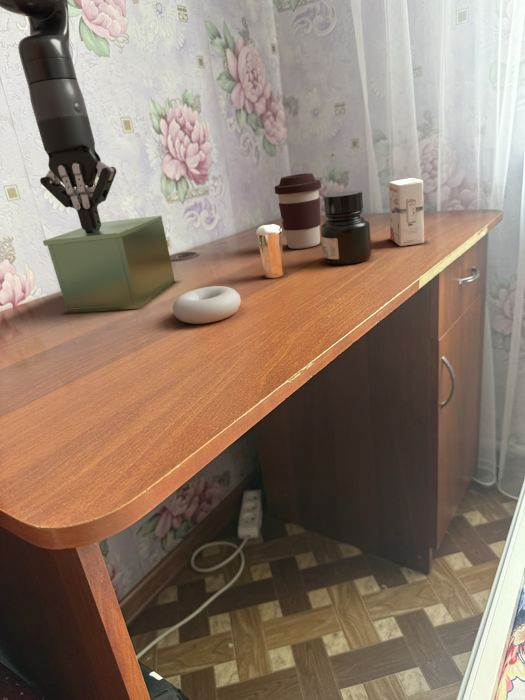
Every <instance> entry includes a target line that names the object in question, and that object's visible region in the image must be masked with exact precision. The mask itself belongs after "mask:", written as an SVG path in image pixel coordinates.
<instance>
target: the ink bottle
mask: <svg viewBox="0 0 525 700" xmlns="http://www.w3.org/2000/svg"><path fill="white" fill-rule="evenodd" d="M363 201H364V200H363V191H362V190H346V191H338V192H332V193H327V194H324V195H323V205H324V213H325V215H324V216H325V217H326V218H327V219H326V220H325V221H324V223H323V224H322V225H321V227H320V238H321V246H322V247H321V248H322V258H323V261H324V263H326V264H328V265H335V266H336V265H337V266H339V265H351V264H357V263H362V262H365V261H367V260H369V259H370V258H371V257H372V246H371V245H372V243H371V242H372V241H371V224H370V222H369V220H368V219H367V218H365V217H364V216H363V215H362V214H363V212H364V202H363Z"/></svg>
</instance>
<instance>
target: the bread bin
mask: <svg viewBox="0 0 525 700" xmlns="http://www.w3.org/2000/svg"><path fill="white" fill-rule="evenodd" d="M164 226H165V225H164V221H163V219H162V220H160V221H158V222H156V223H153V224H151V225H148V226H146V227H144V228H141V229H139V230H137V231H134V232H132V233H129V234H127V235H125V236H122V237H120V238H114V239H104V240H95V241H85V242H76V243H66V244H57V245H47V249H48V251H49V255H50V259H51V262H52V265H53V269H54V272H55V274H56V275H55V276H56V278H57V283H58V286H59V288H60V292H61V296H62V298H63V301H64V305H65V308H66V312H67V314H77V313H90V312H91V313H92V312H107V311H121V310H122V311H127V310H139V309H141V308H142V307H143V306H144V305H146V304H147V303H149V302H150V301H152V300H153V299H154V298H156V297H157V296H158V295H160V294H161V293H163V292H164V291H166V290H167V289H168V288H170V287H171V286H173V285H174V284H175V283H176V280H175V279H176V278H175V274H174V270H173V265H172V260H171V255H170V250H169V246H168V241H167V236H166V232H165V227H164Z"/></svg>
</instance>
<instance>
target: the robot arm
mask: <svg viewBox="0 0 525 700" xmlns="http://www.w3.org/2000/svg"><path fill="white" fill-rule="evenodd" d="M0 8H1V9H4V10H6V11H8V12H10V13H12V14H15V15H19V16H24V17H27V19H28V24H29V35H27V36H25V37H23V38H21V40H19V43H18V47H17V49H18V55H19V59H20V63H21V67H22V70H23V74H24V76H25V80H26V84H27V88H28V92H29V99H30V103H31V107H32V112H33V115H34V118H35V121H36V126H37V130H38V132H39V135H40V139H41V143H42V146H43V150H44V151H45V153H46V155H47V156H48V164H47V166H48V168H49V171H47V173H46V175H45V176H42V177H40V179H39V182H40V184H41V185H42V186H43V187H44V188H45V189H46V190H47V191H48V192H49V193H50V194H51V195H52V196H53V197H54V198H55V199H56V200H57V201H58V202H59V203H60V204H61V205H62V206H63V207H65V208H71V209H74V210H75V211H76V213H77V216H78V219H79V223H80V226H81V227H80V228H83V230H85V232H86V233H94V232H97V231H99V230H100V227H101V222H102V221H101V217H100V214H99V210H98V206H99V205H100V204H102V203H103V202H106V200H107V199H108V196H109V192H110V190H111V188H112V185H113V182H114V180H115V177H116V174H117V168H116V167H115V166H109V165H107V164H105V163H103V162H102V159H101V157H100V155H99V154H98V152H97V151H96V143H95V138H94V134H93V130H92V126H91V122H90V117H89V114H88V110H87V107H86V103H85V99H84V96H83V95H84V94H83V92H82V90H81V87H80V84H79V81H78V76H77V72H76V70H75V66H74V62H73V59H72V58H73V57H72V54H71V50H70V19H69V4H68V0H0ZM97 177H98V179H96V178H97ZM96 180H97V181H96Z"/></svg>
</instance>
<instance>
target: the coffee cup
mask: <svg viewBox="0 0 525 700" xmlns="http://www.w3.org/2000/svg"><path fill="white" fill-rule="evenodd" d="M321 188H322V181H321V179H316V177H315V176H314V174H313V173H311V172H308V173H299V174H292V175H285V176H282V177H281V178H280V180H279V184H277V185H275V186H274V194H276V195H277V196H278V201H279V203H278V207H279V213H280V217H281V220H282V219H283V222H282V228H283V230H284V234H285V239H286V245H287V247H288V248H289V249H292V250H293V249H294V250H298V249H299V250H302V249H308V248H312V247H313V248H314V247H316V246H318V245H319V244H320V243H321V227H320V226H321V198H320V193H319V192H320V190H319V189H321Z"/></svg>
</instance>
